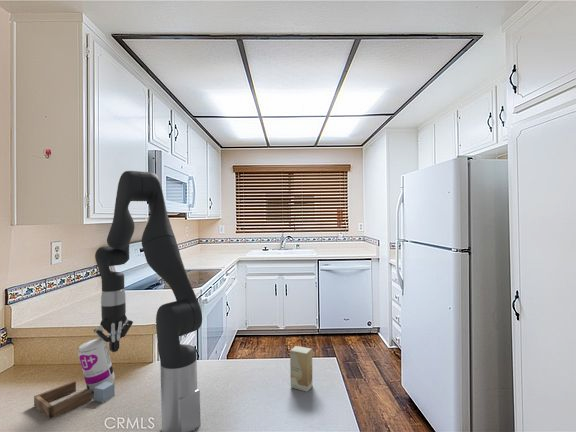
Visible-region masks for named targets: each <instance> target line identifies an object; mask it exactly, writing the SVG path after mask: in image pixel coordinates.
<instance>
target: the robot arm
mask: <svg viewBox="0 0 576 432" xmlns="http://www.w3.org/2000/svg"><path fill="white" fill-rule="evenodd" d="M116 189H117V190H116V196H115V203H114V211H113V219H112V223H111V226H110V228H109V231H108V234H107V239H106V244H107V245H105V246H101V247H98V248H97V249H96V251H95V255H94V257H95V262H96V265H97V267H98V270H99V274H100V278H101V296H100V299H101V300H100V304H101V305H100V308H101V309H100V310H101V311H100V312H101V320H100V321H101V322H100V325H99V326H98V327H97V328H94V329H93V333H94V334H95V335H97V336H98V338H103V340H104V341H105V342H106V343H108V346H109V347H108V351H110V352H112V353H116V352H118V351H119V349H120V340H121V339H122V338H125V336H126V335H127V333H128V331H129V330H130V328H131V327H132V325H133V323H134V322H133V321H132V320H130V319H128V318H127V315H126V313H127V311H126V308H127V307H126V305H127V304H126V290H125V274H124V273H123V272H121V271H112V270H111V269H110V267H114V266H122V265H125V264H126V263H128V262H129V259H130V243H131V240H132V237H133V235H134V233H135V227H136V226H135V221H134V219H133V217H132V214H131V213H130V210H129V206H130V203H131V202H147V205H148V207H149V218H148V221H147V223H146V225H145V228H144V230H143V233H142V236H141V240H140V241H141V246H142V247H141V248H142V250H143V253H144V256H145V260H146V263H147V265H148V266H149V267H150V268H151V269H152V270H153V272H155V273H156V274H157V275H158V277H160V278H161V279H162V280H163V281H164V282H166V284H167V285H168V286H169V288H170V289H171V291H172V293H173V295H174V298H175V301H171V302H167V303H163V304H161V305H160V306H159V307H158V309H157V312H156V315H155V327H156V339H157V341H156V342H157V350H158V351H157V352H158V356H159V361H160V362H159V363H160V366H159V367H160V368H159V369H160V402H161V403H160V404H161V406H160V407H161V432H193V431H194V430H196V429H198V428H199V427H201V423H202V422H201V393H200V389H198V363H197V362H198V361H197V359H198V358H197V349H196V347H194V346H193V345H190V344H186V343H185V344H184V343H183V344H181V341H180V337H182V336H186V335H189V334H190V333H193V332H196V331H197V330H199V329H200V327H201V326H202V324H203V314H202V313H203V312H202V309H201V305H200V303H199V300H198V298H197V295H196V293H195V291H194V288H193V286H192V284H191V282H190V279H189V277H188V274H187V271H186V269H185V266H184V263H183V260H182V257H181V253H180V248H179V246H178V242H177V238H176V236H175V233H174V231H173V228H172V225H171V222H170V218H169V215H168V211H167V206H166V201H165V198H164V197H165V196H164V192H163V189H162V183H161V181H160V178H159V177H158V175H157V174H156V173H154V172H150V171H139V170H138V171H137V170H126V171H124V172H122V174H121V175H120V177H119V181H118V184H117V188H116ZM104 331H106V334H107V335H106V334H105V333H104Z"/></svg>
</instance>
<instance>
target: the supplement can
mask: <svg viewBox="0 0 576 432" xmlns="http://www.w3.org/2000/svg"><path fill="white" fill-rule="evenodd" d="M107 343H108V342H106V341H104V340H103V338H100V337H97V338H93V339H90V340H87V341H85V342H84V343H82V344H80V345H79V347H78V351H77V355H78V359H79V362H80V366H81V370H82V375H83V377H84V381H85V385H86V389H87V391H88V390H91V393H92V392H93V393H94V387H96V386H98V385H100V384H101V383H103V382H111V383H114V382H113V381H114V380H115V377H116V376H115V372H114V368H113V365H112V360H111V356H110V352H109V351H110V350H109V347H108V344H107Z"/></svg>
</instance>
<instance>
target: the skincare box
mask: <svg viewBox="0 0 576 432" xmlns="http://www.w3.org/2000/svg"><path fill="white" fill-rule="evenodd" d="M289 351H290V355H289V356H290V358H289V359H290V360H289V361H290V363H289V366H290V369H289V371H290V388H292V389H296V390H299V391H303V392H307V393H308V391H310V390H311V388H312V387H313V348H310V347H305V346H299V345H295V346H294V347H292V348H291V349H290V350H289Z"/></svg>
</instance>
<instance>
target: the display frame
mask: <svg viewBox="0 0 576 432" xmlns="http://www.w3.org/2000/svg"><path fill="white" fill-rule="evenodd" d="M76 391H77V382H76V381H75V380H73V381H71V382H70V381H69V382H67V383H65V384H63V385H60V386H57V387H55V388H51V389H49V390H46V391H45V392H42V393H39V394H36V395H34V396H33V406H34V407H35V406H36V407H37V408H38V409H39V410H40V411H39V410H38V409H37V408H36V407H35V408H36V409H37V410H38V411H39V412H41V414H43V413H44V414H45V415H46V416H45V415H44V414H43V415H44V416H45V417H46V418H48V419H49V420H50V418H51V419H53V418H56V417H58V416H60V415H62V414H64V413H66V412H68V411H72V410H73V409H75V408H77V407H80V406H82V405H84V404H87V403H89V402H91V401H92V391H91V390H88V389H87V390H86V391H84V392H81V393H78V394H77V395H74V396H72V397H71V396H70V398H67V399H64V400H62V401H60V402H56V403H55V404H51V403H49V402H51V400H52V401H54V400H57V399H59V398H62V397H64V396H66V395H69V394H72V393H73V392H76ZM71 392H72V393H71ZM59 414H60V415H59ZM52 417H53V418H52Z"/></svg>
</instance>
